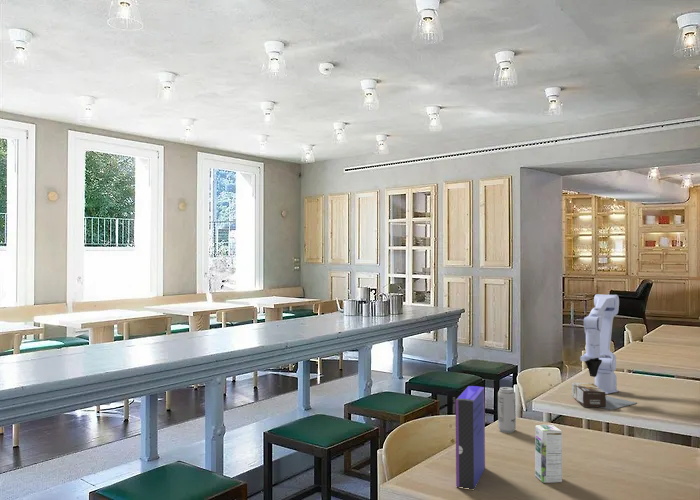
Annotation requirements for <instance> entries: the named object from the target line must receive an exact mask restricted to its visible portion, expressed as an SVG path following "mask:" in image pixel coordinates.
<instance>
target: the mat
mask: <svg viewBox="0 0 700 500" xmlns="http://www.w3.org/2000/svg"><path fill="white" fill-rule="evenodd" d="M605 397H606V407H599V408H601V409H604V410H608V411H613V410H617V409H621V408H624V407H629V406H633V405H636V404H637V403H638V402H635V401H631V400H627V399H622V398H617V397H612V396H609V395H605ZM576 402H577V403H579V402H578V401H577V400H576Z"/></svg>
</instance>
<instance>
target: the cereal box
mask: <svg viewBox="0 0 700 500" xmlns="http://www.w3.org/2000/svg"><path fill="white" fill-rule="evenodd" d="M485 406H486V405H485V387H484V386H477V385H468V386H467V387H466V388H464V390H463V391H462V392H461V393H460V395H458V397H457V398H456V399H455V474H456V475H455V486H457V487H463V488H469V489H474V488H475V489H476V487H477V485H478V483H479V481H480V479H481V477H482V476H483V473H484V471H485V469H486V447H485V446H486V432H485V431H486V427H485V424H486V423H485V418H486V417H485V415H486V414H485V410H486V409H485ZM476 484H477V485H476ZM475 486H476V487H475ZM475 489H474V490H475Z"/></svg>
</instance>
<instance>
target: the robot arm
mask: <svg viewBox="0 0 700 500" xmlns="http://www.w3.org/2000/svg"><path fill="white" fill-rule="evenodd" d="M593 305H594V307H593V308H592V309H591V310H590V312H589V314H588V315H587V316H585V317H584V318H583V328H584V334H585V352H584V354H583V355H580V357H579V359H580V362H584V363H585V365H586V367H587V369H588V372H589V376H590V377H593V378H594V384H595V385H596V386H597V387H599V388H600V389H602V390H603V391H604V392H605V395H609V394H613V393H617V392H619V390H618V389H617V388H618V387H617V385H618V383H617V374H616V373H615V371H616V369H617V357H616V355H615V353H614V352H612V351H611V342H612V332H613V321H614V317H615V316H616V315H618V314H619V308H620V307H619V306H620V298H619V295H618V294H601V293H599V294H598V293H596V294H595V295H594V297H593Z"/></svg>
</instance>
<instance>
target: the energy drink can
mask: <svg viewBox="0 0 700 500" xmlns="http://www.w3.org/2000/svg"><path fill="white" fill-rule="evenodd" d="M516 415H517V414H516V392H515V390H514V387H510V386H501V387H499V390H498V392H497V425H498V426H497V428H498V429H499V431H500V432H501V433H504V432H505V433H504V434H512V433H514V432H515V430H516V428H517V427H516V426H517V425H516V422H517V421H516Z"/></svg>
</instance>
